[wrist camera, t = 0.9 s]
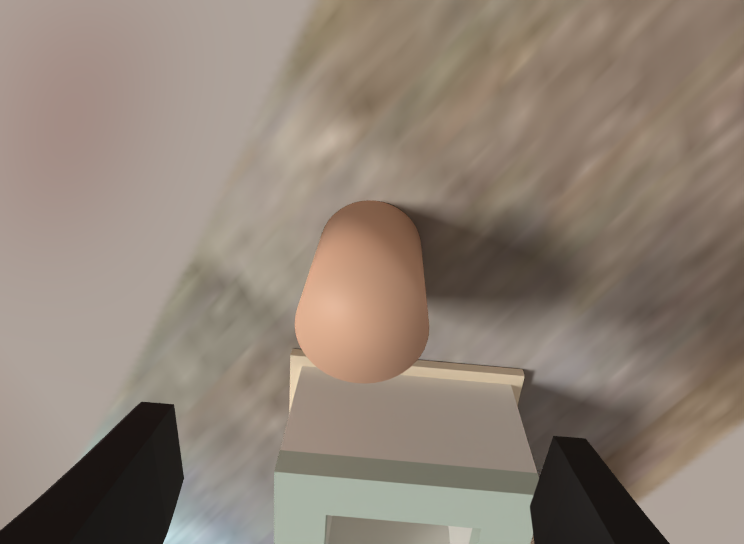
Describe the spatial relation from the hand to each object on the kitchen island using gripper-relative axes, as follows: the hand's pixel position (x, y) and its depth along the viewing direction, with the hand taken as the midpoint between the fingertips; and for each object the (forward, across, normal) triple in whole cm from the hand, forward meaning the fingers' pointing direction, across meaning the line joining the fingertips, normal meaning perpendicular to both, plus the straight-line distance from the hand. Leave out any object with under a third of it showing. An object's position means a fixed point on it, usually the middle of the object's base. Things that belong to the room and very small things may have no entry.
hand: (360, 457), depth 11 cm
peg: (+12, 0, +2) cm, 12 cm away
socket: (+11, -2, +12) cm, 16 cm away
